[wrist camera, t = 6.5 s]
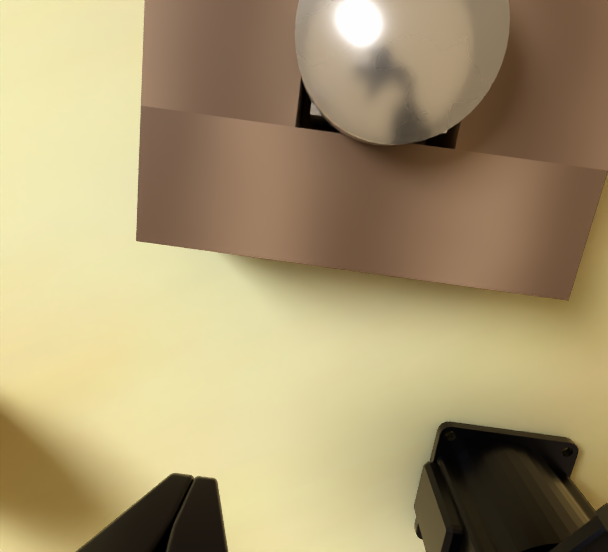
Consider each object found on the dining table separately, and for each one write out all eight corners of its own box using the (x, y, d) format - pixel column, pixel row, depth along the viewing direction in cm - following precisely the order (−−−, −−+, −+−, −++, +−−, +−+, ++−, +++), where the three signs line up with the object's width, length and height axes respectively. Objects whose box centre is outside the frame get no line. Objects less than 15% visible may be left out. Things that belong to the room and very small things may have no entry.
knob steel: (461, 3, 15) (534, -76, 10) (430, 157, 17) (481, 157, 12) (312, -19, 15) (310, -108, 10) (293, 138, 17) (282, 129, 12)
